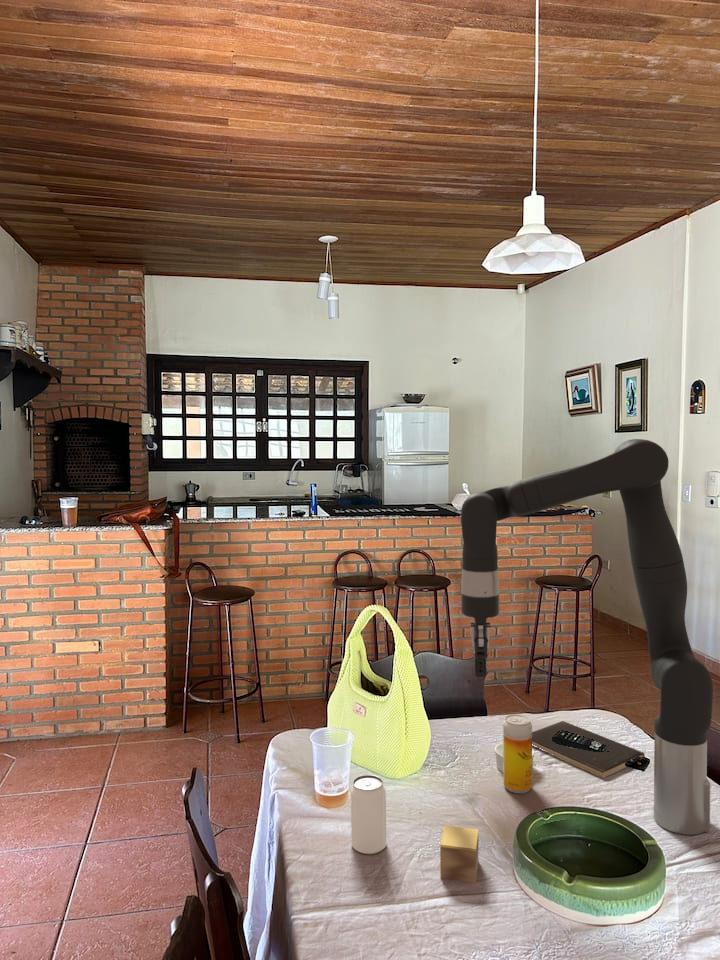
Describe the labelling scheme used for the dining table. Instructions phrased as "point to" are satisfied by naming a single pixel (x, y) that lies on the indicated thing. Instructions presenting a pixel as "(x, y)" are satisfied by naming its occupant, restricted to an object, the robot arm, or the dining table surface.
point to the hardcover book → (585, 759)
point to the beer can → (517, 753)
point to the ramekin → (500, 756)
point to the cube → (459, 854)
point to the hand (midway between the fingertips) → (480, 675)
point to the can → (368, 814)
